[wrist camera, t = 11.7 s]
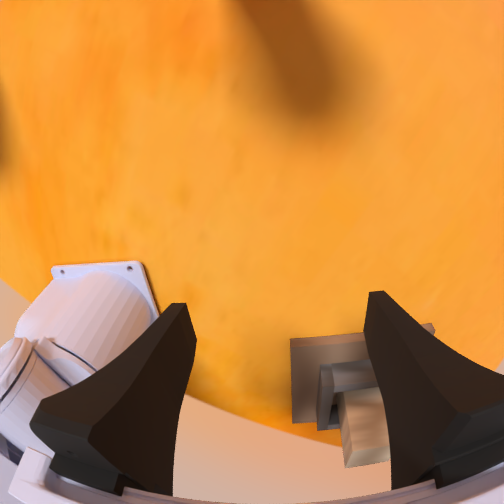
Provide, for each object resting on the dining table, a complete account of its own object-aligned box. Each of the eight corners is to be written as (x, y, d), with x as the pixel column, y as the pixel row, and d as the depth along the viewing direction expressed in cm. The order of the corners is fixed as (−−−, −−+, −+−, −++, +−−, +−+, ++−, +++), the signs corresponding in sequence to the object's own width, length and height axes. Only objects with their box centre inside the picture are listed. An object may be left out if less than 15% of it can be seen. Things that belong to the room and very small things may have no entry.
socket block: (292, 416, 31) (292, 442, 28) (290, 338, 25) (291, 370, 22) (400, 402, 30) (407, 426, 27) (431, 323, 24) (445, 350, 21)
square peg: (336, 399, 28) (344, 468, 21) (340, 375, 26) (352, 451, 19) (373, 394, 27) (388, 460, 20) (381, 370, 25) (400, 442, 18)
